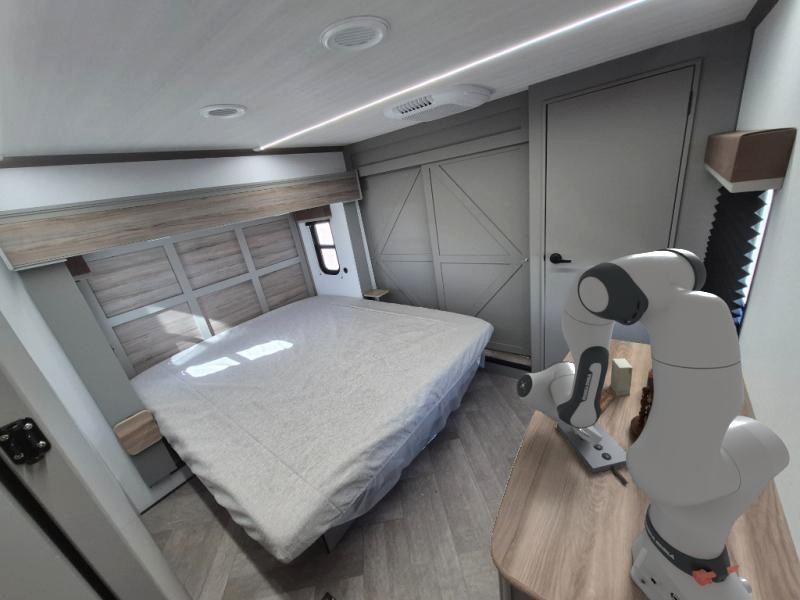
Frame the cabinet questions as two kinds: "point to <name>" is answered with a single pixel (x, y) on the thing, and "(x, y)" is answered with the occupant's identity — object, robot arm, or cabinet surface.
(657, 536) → the robot arm
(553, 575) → the cabinet surface
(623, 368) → the skincare box
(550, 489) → the cabinet surface
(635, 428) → the brown thread spool stand
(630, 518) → the cabinet surface
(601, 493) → the cabinet surface
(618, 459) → the power strip
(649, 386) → the supplement bottle
